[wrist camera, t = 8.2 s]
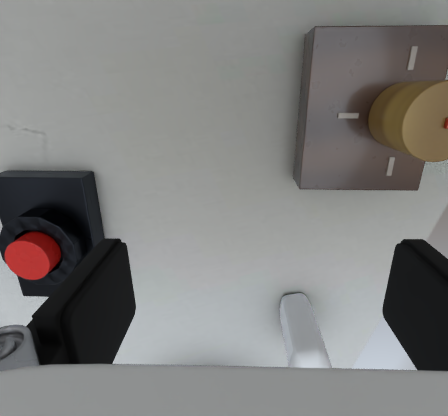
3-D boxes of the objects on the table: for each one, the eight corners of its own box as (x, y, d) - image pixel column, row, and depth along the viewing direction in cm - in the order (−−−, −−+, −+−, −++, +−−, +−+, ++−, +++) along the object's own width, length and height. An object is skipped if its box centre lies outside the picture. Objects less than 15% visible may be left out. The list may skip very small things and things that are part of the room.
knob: (363, 147, 22) (397, 163, 17) (373, 82, 20) (414, 80, 16) (425, 147, 22) (477, 163, 17) (440, 81, 20) (502, 79, 16)
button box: (6, 170, 27) (-31, 183, 23) (93, 171, 27) (70, 184, 23) (36, 282, 32) (10, 308, 28) (112, 284, 31) (95, 311, 28)
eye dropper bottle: (267, 328, 32) (282, 453, 21) (285, 286, 30) (313, 401, 19) (305, 338, 33) (340, 467, 22) (326, 297, 31) (376, 417, 20)
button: (14, 230, 25) (-2, 240, 24) (56, 231, 25) (43, 241, 23) (24, 267, 27) (10, 279, 25) (65, 268, 26) (53, 280, 25)
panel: (304, 34, 22) (315, 25, 19) (456, 32, 22) (490, 24, 19) (292, 178, 26) (299, 190, 23) (420, 180, 26) (443, 191, 23)
